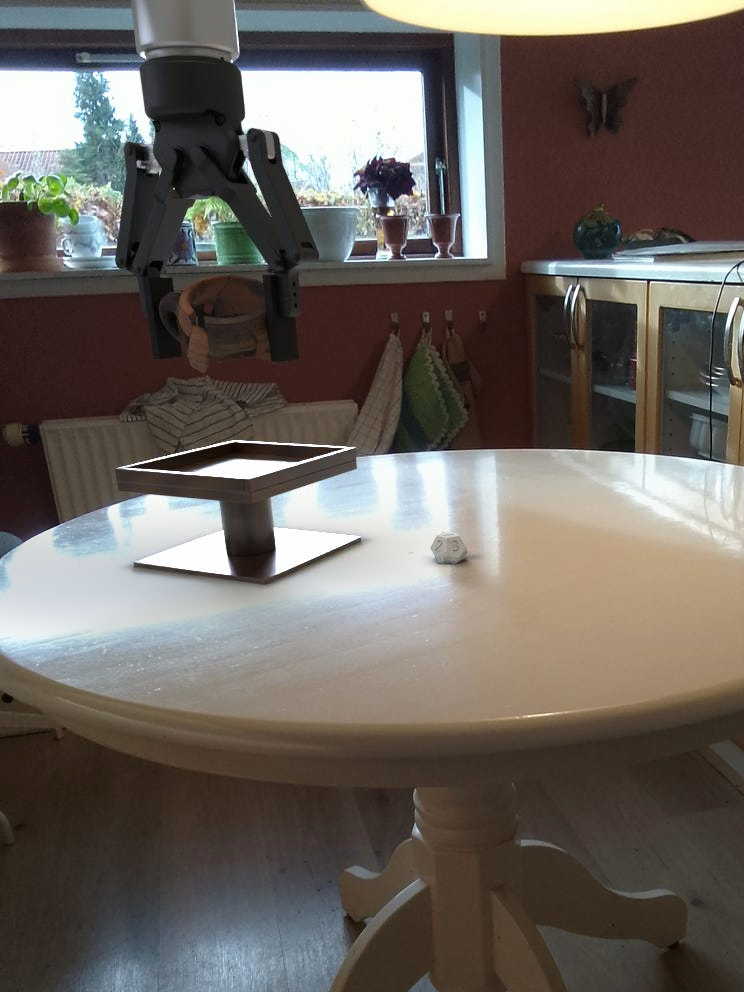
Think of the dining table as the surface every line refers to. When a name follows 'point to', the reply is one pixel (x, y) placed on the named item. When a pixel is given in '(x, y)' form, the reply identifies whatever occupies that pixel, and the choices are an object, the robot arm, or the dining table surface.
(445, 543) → the game die
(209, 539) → the cup holder
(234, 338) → the pottery mug
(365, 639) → the dining table surface
